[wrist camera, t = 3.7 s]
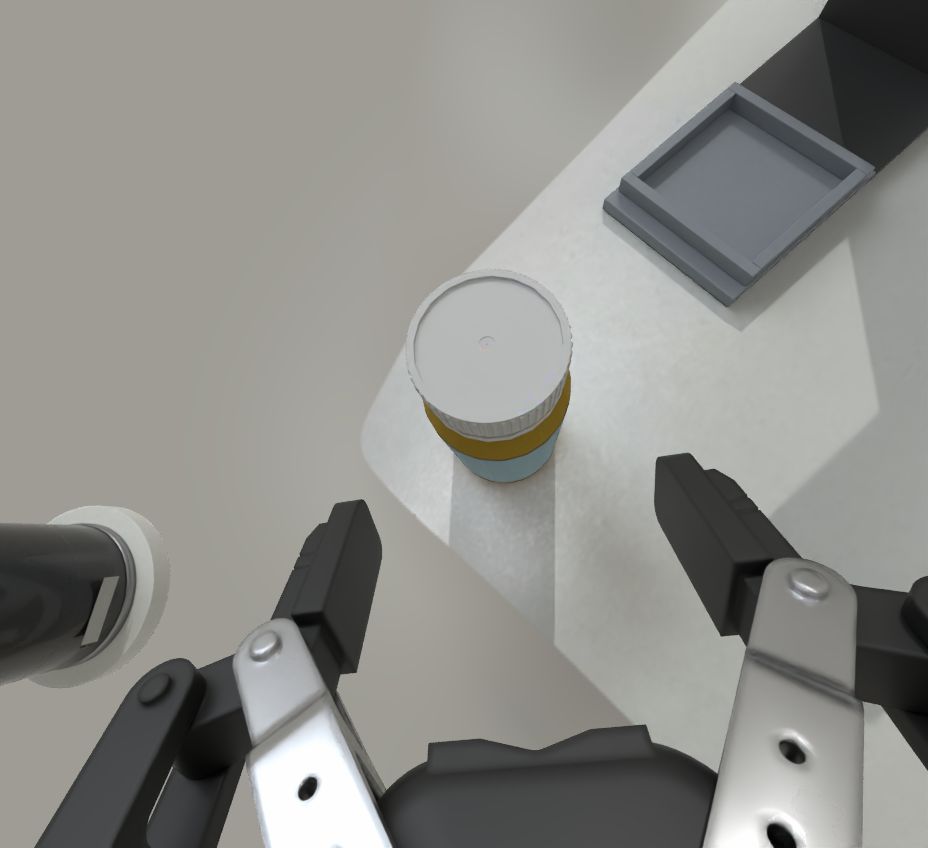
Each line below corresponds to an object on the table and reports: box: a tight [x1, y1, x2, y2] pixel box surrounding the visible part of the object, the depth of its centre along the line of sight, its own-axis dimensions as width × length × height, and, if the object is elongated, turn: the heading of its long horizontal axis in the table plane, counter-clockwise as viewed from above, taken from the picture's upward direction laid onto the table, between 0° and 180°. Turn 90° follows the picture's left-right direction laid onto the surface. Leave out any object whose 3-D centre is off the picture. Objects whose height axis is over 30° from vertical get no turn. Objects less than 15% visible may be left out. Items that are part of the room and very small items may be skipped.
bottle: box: [406, 269, 573, 483], centre depth 23 cm, size 7×7×15 cm
